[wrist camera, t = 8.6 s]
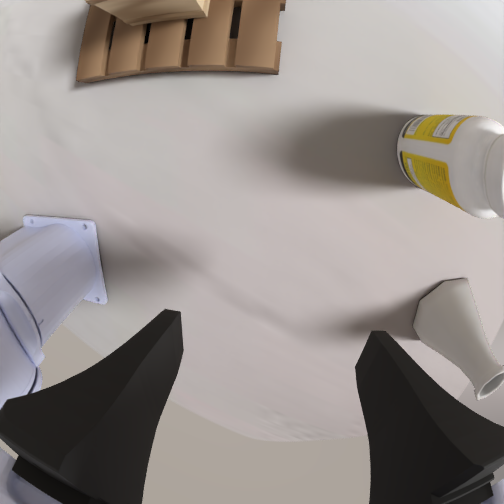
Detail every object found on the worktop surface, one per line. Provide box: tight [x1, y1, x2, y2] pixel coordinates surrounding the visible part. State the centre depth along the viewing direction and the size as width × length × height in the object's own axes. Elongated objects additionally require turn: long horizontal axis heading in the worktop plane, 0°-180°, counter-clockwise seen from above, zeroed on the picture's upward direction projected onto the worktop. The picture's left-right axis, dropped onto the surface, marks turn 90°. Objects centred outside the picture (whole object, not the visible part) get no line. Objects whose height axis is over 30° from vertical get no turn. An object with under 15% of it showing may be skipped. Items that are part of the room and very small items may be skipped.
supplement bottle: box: [397, 115, 504, 219], centre depth 11 cm, size 5×5×10 cm
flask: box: [413, 278, 504, 401], centre depth 17 cm, size 7×7×10 cm
